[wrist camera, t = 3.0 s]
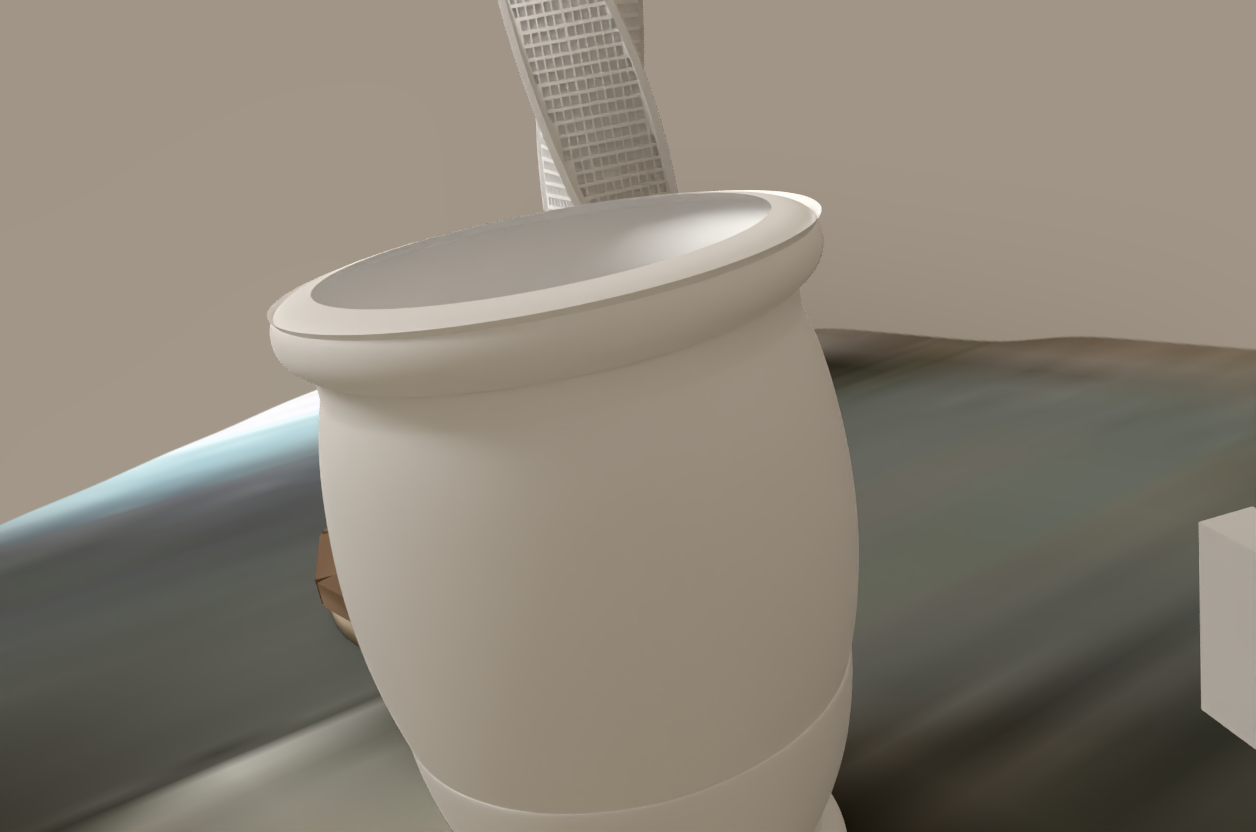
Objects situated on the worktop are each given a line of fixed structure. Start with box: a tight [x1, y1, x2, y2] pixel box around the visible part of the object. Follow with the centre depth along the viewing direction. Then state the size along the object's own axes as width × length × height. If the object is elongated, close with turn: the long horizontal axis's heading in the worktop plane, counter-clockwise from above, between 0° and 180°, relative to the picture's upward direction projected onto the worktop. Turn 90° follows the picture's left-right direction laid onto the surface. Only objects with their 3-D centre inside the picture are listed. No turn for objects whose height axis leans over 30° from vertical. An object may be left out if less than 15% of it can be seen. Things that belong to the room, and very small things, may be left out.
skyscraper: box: [498, 0, 678, 212], centre depth 52 cm, size 8×8×28 cm
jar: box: [267, 190, 859, 832], centre depth 23 cm, size 11×10×15 cm
